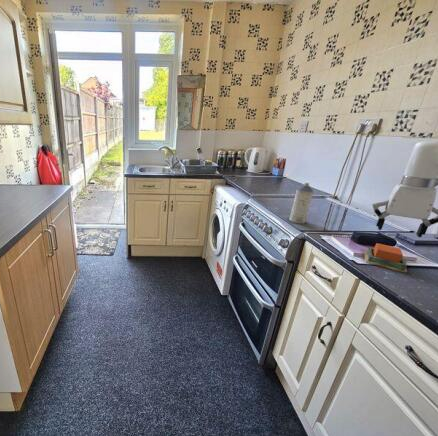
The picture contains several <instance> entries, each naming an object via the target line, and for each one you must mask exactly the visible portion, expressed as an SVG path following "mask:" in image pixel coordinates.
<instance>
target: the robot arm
mask: <svg viewBox="0 0 438 436" xmlns="http://www.w3.org/2000/svg"><path fill="white" fill-rule="evenodd" d="M437 186H438V141H419V142H417V143H415V145H414V146H413V149H412V150H411V154H410V157H409V159H408V162H407V164H406V167H405V170H404V172H403V176H402V178H401V181H400V183H397V184H396V185H395V186H394V188H393V189H392V191H391V193H390V195H389V197H388V199H387V200H384V201H380V202H375V203H372V209H373V212H374V214H375V215H376V216H377V217H378V219H377V221H376V226H375V227H377V229H378V230H379V231H382V230H383V227H384V224H385V221H386V218H387V217H388V216H396V217H402V218H408V219H416V220H421V221H422V222H421V223H420V224H419V226H418V228H417V230H416V233H415V234H416V237H417V238H422V236H423V235H424V236H425V235H426V233H427V230H428V228H429V227H431V226H433V225H435V224H437V223H438V208H436V207H434V204H435V201H436V197H437V191H438V190H437V188H436V187H437ZM380 207H384V210H383V211H382V212H381V211H380V209H379V208H380ZM432 213H433V214H435V215H436V216H435V217H433V218H430V216H431V215H432ZM429 218H430V219H429Z"/></svg>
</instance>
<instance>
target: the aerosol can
mask: <svg viewBox="0 0 438 436" xmlns="http://www.w3.org/2000/svg"><path fill="white" fill-rule="evenodd" d="M313 195H314V189H312V187H311V186H310V182H304V184H303V185H301V186H300V187H297V189H296V192H295V196H294V200H293V204H292V208H291V212H290V216H289V218H288V219H289V221H290V222H291V223H294V224H300V225H301V224H305V223H306V221H307V216H308V213H309V208H310V207H311V202H312V198H313Z"/></svg>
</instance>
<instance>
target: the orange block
mask: <svg viewBox="0 0 438 436" xmlns="http://www.w3.org/2000/svg"><path fill="white" fill-rule="evenodd" d="M373 248H374V250H373V253H372V256H373V257H377V258H381V259H385V260H389V261H393V262H397V263H400V261H401V258H402V256H403V257H404V255H403V252H402V250H401V248H400V247H396V246H391V245H387V244H382V243H378V242H377V243H375V245H374V247H373Z"/></svg>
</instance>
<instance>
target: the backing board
mask: <svg viewBox="0 0 438 436" xmlns="http://www.w3.org/2000/svg"><path fill="white" fill-rule="evenodd" d="M374 248H375V247H370V246H368V248H367V250H366V249H365V250H363V251H364V260H365V261H364V262H365V263H366V264H371V265H375V266H379V267H381V268H385V269H389V270H393V271H398V272H400V273H401V272H402V273H405V274H407V273H408V270H407V263H406V260H405V258H404V255H403V256H402V258H401V261H400V263H397V262H393V261H389V260H385V259H381V258H377V257H373V256H372V253H373V250H374Z"/></svg>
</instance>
